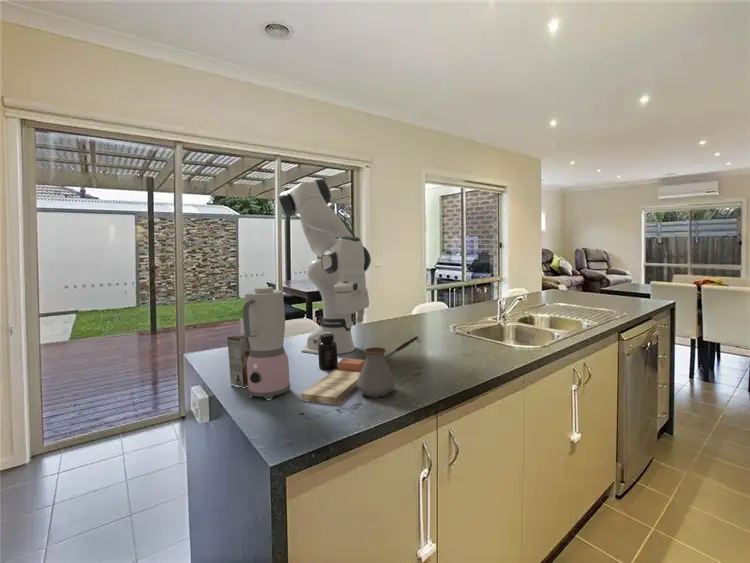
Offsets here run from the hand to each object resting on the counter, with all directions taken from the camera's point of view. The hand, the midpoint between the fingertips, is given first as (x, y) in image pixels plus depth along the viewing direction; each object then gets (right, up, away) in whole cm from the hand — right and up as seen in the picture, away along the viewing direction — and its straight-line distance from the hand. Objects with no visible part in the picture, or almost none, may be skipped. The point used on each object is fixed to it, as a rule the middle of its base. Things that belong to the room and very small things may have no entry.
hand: (355, 324), depth 135 cm
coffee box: (-35, -19, -6) cm, 40 cm away
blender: (-26, -19, -17) cm, 36 cm away
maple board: (-5, -18, -14) cm, 23 cm away
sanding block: (-1, -17, +1) cm, 17 cm away
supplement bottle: (-10, -17, +8) cm, 21 cm away
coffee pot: (+12, -18, -15) cm, 26 cm away
